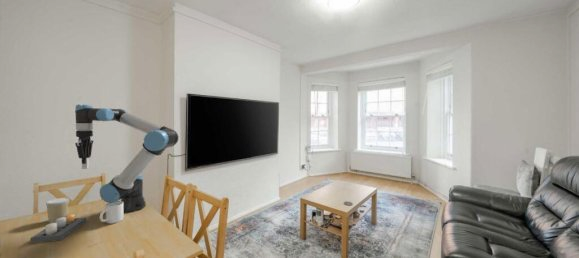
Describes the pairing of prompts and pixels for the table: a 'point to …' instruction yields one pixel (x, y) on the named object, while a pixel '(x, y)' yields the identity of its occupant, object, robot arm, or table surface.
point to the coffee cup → (57, 209)
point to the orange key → (70, 218)
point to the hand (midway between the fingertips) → (85, 168)
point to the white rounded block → (51, 229)
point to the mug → (113, 212)
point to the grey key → (61, 222)
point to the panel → (59, 231)
